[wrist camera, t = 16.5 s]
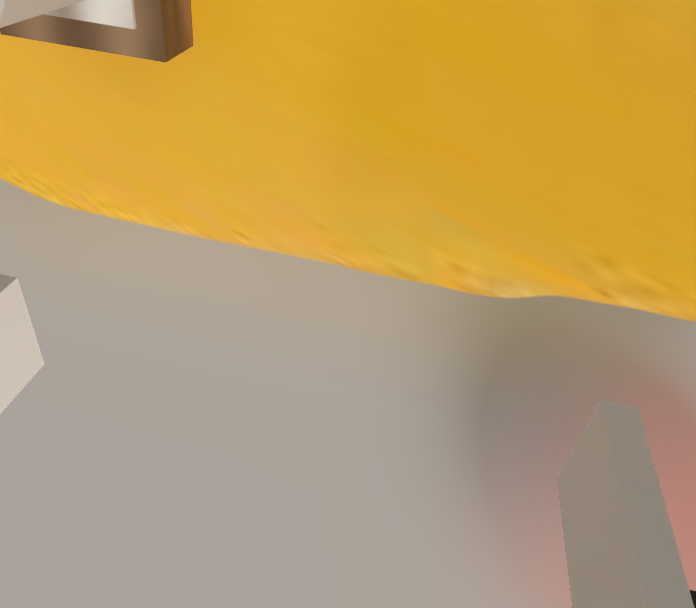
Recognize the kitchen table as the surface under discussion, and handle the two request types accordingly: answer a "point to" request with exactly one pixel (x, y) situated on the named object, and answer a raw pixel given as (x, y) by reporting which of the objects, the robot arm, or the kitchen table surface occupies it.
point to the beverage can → (28, 9)
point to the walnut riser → (115, 27)
